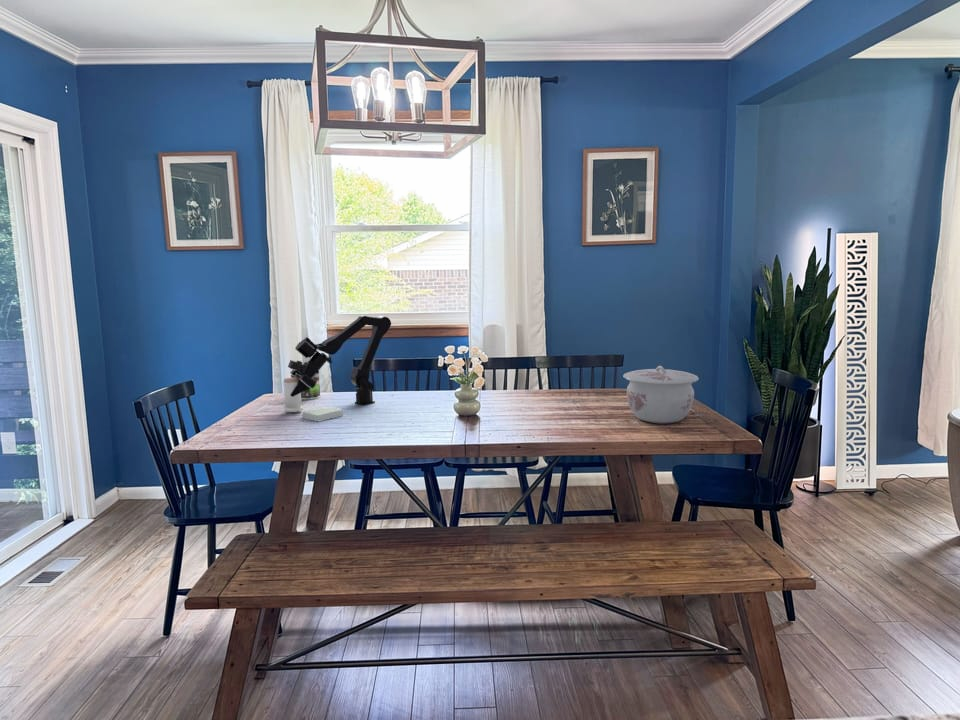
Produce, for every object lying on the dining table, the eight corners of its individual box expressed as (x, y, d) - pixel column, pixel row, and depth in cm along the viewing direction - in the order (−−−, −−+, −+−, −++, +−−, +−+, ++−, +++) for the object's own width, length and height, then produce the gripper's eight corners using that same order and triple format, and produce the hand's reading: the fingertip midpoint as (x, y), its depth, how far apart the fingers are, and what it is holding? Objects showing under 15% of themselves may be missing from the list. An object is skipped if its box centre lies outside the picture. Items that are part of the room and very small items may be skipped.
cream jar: (296, 406, 265) (294, 376, 263) (306, 409, 260) (304, 378, 258) (280, 410, 260) (278, 379, 258) (290, 413, 255) (288, 381, 253)
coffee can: (325, 396, 290) (323, 366, 288) (306, 400, 282) (305, 369, 279) (310, 394, 296) (309, 364, 294) (292, 398, 288) (290, 367, 286)
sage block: (327, 412, 260) (327, 406, 259) (343, 415, 253) (342, 409, 253) (302, 417, 251) (302, 411, 250) (317, 421, 244) (317, 415, 244)
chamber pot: (675, 433, 222) (677, 374, 218) (608, 420, 240) (609, 366, 237) (710, 418, 241) (712, 364, 238) (645, 407, 260) (647, 357, 257)
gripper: (293, 350, 266) (268, 378, 263) (305, 355, 250) (279, 386, 247) (313, 366, 271) (289, 395, 268) (326, 372, 255) (300, 403, 252)
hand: (289, 394), depth 258 cm, fingers closed on cream jar, 7 cm apart
